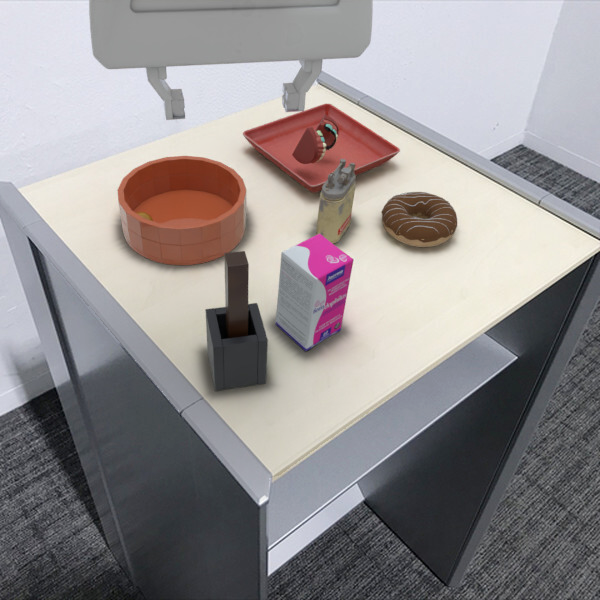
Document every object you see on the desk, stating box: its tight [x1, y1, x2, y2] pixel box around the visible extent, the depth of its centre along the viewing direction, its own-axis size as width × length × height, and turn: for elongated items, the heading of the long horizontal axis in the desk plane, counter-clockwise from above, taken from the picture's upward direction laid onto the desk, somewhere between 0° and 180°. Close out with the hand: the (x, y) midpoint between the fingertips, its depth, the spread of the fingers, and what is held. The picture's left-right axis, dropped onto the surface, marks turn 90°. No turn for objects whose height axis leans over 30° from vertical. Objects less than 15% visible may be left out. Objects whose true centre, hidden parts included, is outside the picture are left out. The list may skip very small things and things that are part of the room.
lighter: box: [315, 159, 357, 244], centre depth 90 cm, size 7×4×10 cm, turn 155°
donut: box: [381, 191, 458, 248], centre depth 93 cm, size 11×11×4 cm
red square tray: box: [242, 103, 401, 194], centre depth 105 cm, size 18×18×3 cm
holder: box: [205, 302, 269, 392], centre depth 72 cm, size 6×6×7 cm
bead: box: [137, 212, 153, 221], centre depth 88 cm, size 3×3×3 cm
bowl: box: [116, 155, 247, 266], centre depth 90 cm, size 17×17×6 cm
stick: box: [223, 250, 250, 339], centre depth 69 cm, size 2×2×16 cm
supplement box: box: [274, 234, 354, 352], centre depth 75 cm, size 6×6×12 cm
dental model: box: [292, 114, 339, 164], centre depth 99 cm, size 6×4×8 cm
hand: (235, 112), depth 53 cm, fingers open, 8 cm apart
